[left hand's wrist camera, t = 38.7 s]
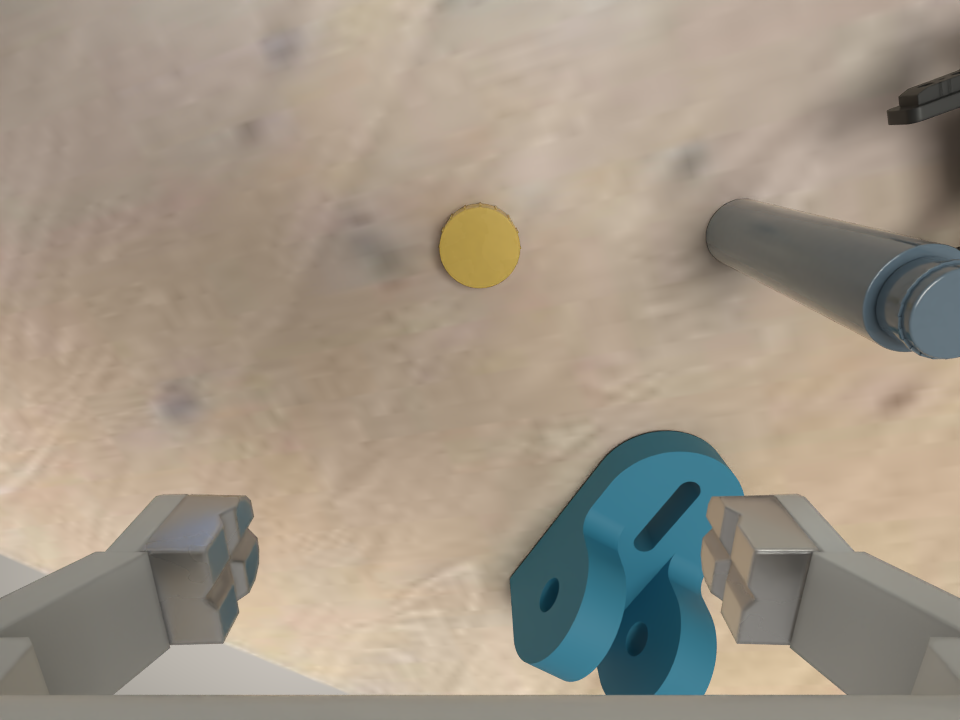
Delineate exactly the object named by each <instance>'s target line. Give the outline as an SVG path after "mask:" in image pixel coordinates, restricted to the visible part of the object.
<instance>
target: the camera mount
mask: <svg viewBox="0 0 960 720" xmlns="http://www.w3.org/2000/svg"><path fill="white" fill-rule="evenodd" d="M712 496H744V493H743V490H742V488H741V485H740V483H739V481H738V480H737V478H736V477H735V475H734V474H733V473H732V471H731V470H730V469H729V467H728V466H727V465H726V463H725V462H724V461H723V459H722V458H721V457H720V455H719V454H718V453H717V451H716V450H715V449H714V448H713V447H712V446H711V445H709V444H708V443H707V442H705V441H704V440H702V439H700V438H698V437H696V436H693V435H690V434H687V433H682V432H676V431H659V432H652V433H647V434H643V435H640V436H637V437H635V438H632V439H630V440H628V441H626V442H624V443H623V444H621V445H620V446H618V447H617V448H615V449H614V450H613V451H612V452H611V453H609V454H608V455H607V456H606V457H605V459H604V460H603V461H602V462H601V463H600V465H599V466H598V467H597V468H596V470H595V471H594V472H593V474H592V475H591V476H590V477H589V479H588V480H587V481H586V482H585V484H584V485H583V486H582V488H581V489H580V490H579V491H578V493H577V494H576V495H575V496H574V498H573V499H572V500H571V502H570V503H569V504H568V505H567V507H566V508H565V509H564V510H563V512H562V513H561V514H560V516H559V517H558V518H557V519H556V521H555V522H554V523H553V524H552V526H551V527H550V528H549V530H548V531H547V532H546V533H545V535H544V536H543V537H542V538H541V540H540V541H539V542H538V544H537V545H536V546H535V547H534V549H533V550H532V551H531V552H530V554H529V555H528V556H527V558H526V559H525V560H524V561H523V563H522V564H521V565H520V566H519V568H518V569H517V570H516V571H515V573H514V574H513V575H512V577H511V578H510V589H511V603H512V618H513V633H514V644H515V648H516V651H517V654H518V656H519V657H520V658H521V659H522V660H523V661H524V662H526V663H528V664H530V665H532V666H534V667H537V668H539V669H541V670H543V671H545V672H547V673H549V674H551V675H553V676H556V677H558V678H560V679H562V680H564V681H568V682H573V681H578V680H580V679H582V678H584V677H586V676H587V675H588V674H590V673H591V672H592V671H593V670H594V669H595V668H596V667H597V669H598V673H599V678H600V682H601V685H602V688H603V690H604V692H605V694H606V695H704V694H705V692H706V690H707V688H708V685H709V683H710V680H711V677H712V674H713V670H714V666H715V660H716V650H717V641H716V631H715V626H714V623H713V620H712V617H711V615H710V612H709V610H708V608H707V606H706V604H705V602H704V600H703V598H702V595H701V583H702V580H703V577H704V575H703V571H702V564H701V547H702V538H703V537H704V536H705V535H706V534H707V533H708V532H709V531H710V530H711V529H712V526H711V524H710V523H709V521H708V519H707V517H706V513H707V508H708V503H709V501H710V499H711V497H712Z"/></svg>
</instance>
